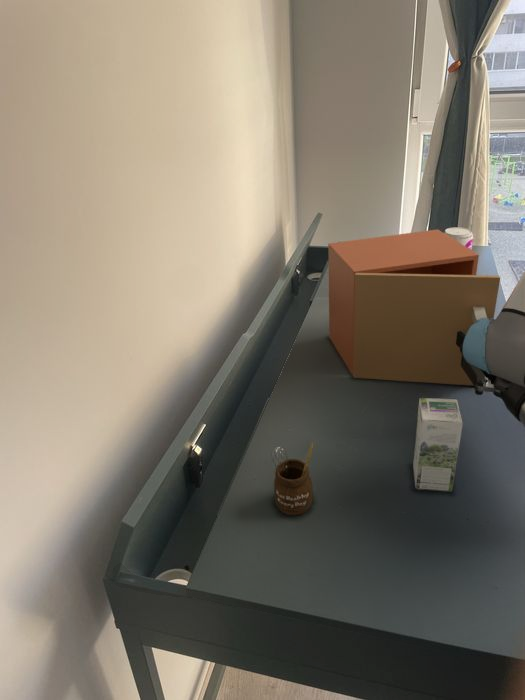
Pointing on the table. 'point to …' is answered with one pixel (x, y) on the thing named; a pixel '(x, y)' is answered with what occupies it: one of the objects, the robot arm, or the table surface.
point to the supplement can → (461, 235)
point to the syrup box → (436, 444)
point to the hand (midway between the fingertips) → (465, 336)
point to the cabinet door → (417, 324)
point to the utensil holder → (293, 485)
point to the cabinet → (386, 257)
